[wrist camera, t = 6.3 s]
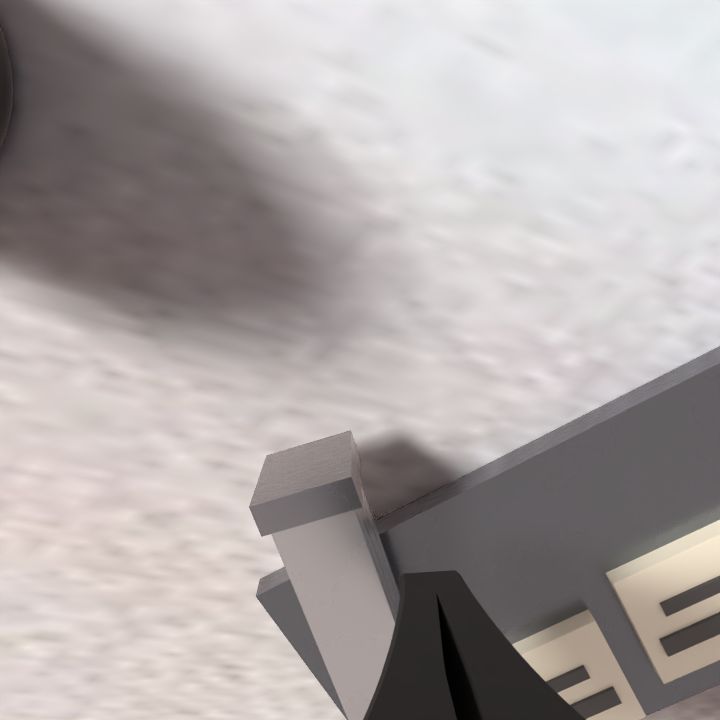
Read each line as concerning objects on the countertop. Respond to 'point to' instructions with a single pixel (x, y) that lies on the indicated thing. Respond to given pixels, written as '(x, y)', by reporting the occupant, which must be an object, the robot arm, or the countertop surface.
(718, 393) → the dark gray base board
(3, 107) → the supplement bottle
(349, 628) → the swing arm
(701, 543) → the label plate
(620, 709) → the label plate
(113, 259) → the countertop surface
